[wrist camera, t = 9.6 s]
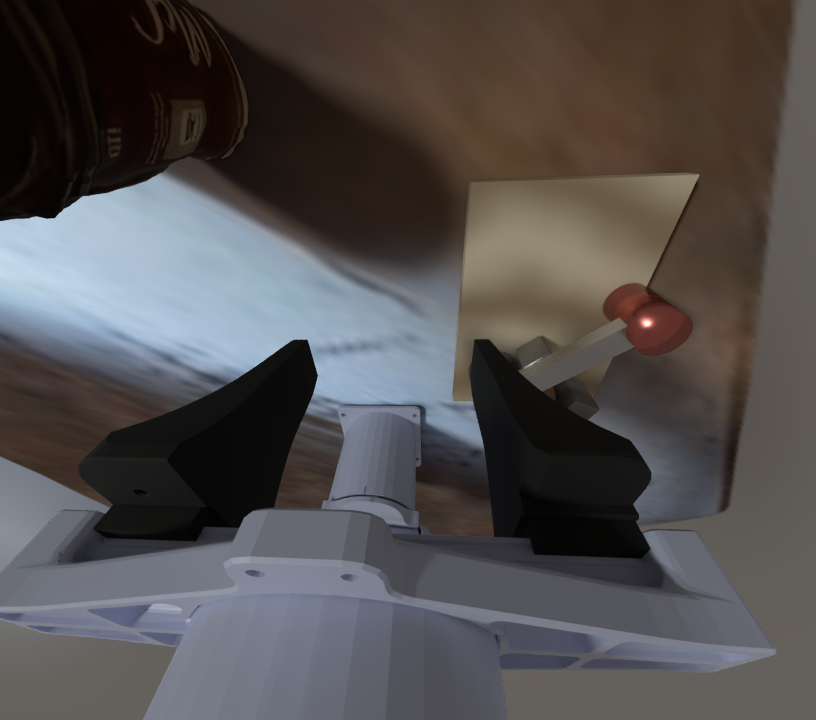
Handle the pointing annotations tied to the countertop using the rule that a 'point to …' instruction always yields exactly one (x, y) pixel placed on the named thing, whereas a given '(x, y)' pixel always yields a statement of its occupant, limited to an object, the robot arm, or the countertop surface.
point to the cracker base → (558, 263)
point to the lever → (610, 337)
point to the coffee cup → (108, 97)
